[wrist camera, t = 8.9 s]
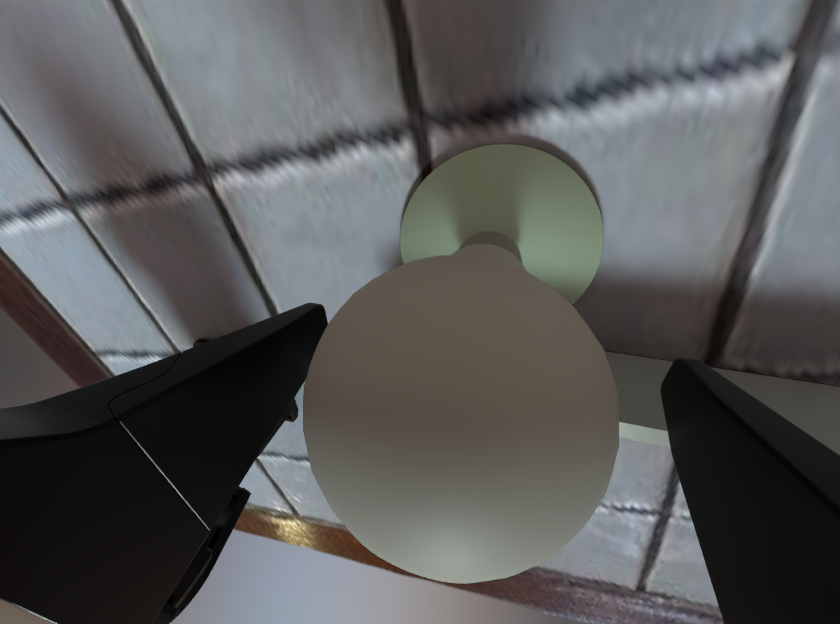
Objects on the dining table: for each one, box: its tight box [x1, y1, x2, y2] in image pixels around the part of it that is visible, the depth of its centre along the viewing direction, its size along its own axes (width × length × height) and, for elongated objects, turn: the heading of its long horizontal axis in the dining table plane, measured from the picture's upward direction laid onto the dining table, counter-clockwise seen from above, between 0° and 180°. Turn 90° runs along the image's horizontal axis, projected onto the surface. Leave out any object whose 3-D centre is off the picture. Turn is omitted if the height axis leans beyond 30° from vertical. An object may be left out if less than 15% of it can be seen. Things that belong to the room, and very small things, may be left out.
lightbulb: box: [303, 231, 619, 583], centre depth 9 cm, size 6×6×11 cm
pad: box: [400, 144, 604, 305], centre depth 13 cm, size 8×8×1 cm
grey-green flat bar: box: [604, 351, 840, 455], centre depth 13 cm, size 18×1×4 cm, turn 90°
